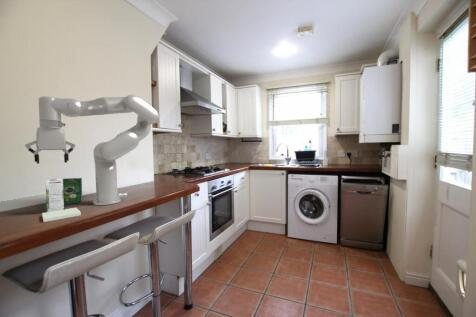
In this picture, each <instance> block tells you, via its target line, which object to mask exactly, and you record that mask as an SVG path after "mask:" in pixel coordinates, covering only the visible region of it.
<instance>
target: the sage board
mask: <svg viewBox="0 0 476 317" xmlns="http://www.w3.org/2000/svg"><path fill="white" fill-rule="evenodd" d="M79 216H82V213H81V211H80V210H79V209H78V207H72V208H65V209H63V210H58V211H52V212H47V211H46V212H41V217H42V221H43V222H44V223H45V222H53V221H58V220H62V219H66V218H67V219H69V218H72V217H79Z"/></svg>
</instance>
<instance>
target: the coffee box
mask: <svg viewBox="0 0 476 317" xmlns="http://www.w3.org/2000/svg"><path fill="white" fill-rule="evenodd" d="M62 179H63V196H64V205H68V204H69V205H70V204H80V203H82V202H83V178H82V177H74V178H73V177H71V178H62Z"/></svg>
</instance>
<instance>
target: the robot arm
mask: <svg viewBox="0 0 476 317" xmlns="http://www.w3.org/2000/svg"><path fill="white" fill-rule="evenodd" d="M128 113H134V114H136V115H137V118H136V124H135V125H133V126H132V127H130V128H128V129H125V130H124V131H123V132H122V131H121V132H120V133H118V134H117V135H116V136H115V137H114V138H112V139H110V140H108V141H105V142H99V143H98V144H96V146H95V147H94V148H93V161H94V169H95V170H94V172H95V191H96V192H95V193H96V194H95V195H96V200H95V199H94V200H93V202H92V204H93V205H95V206H107V205H113V204H114V205H115V204H117V203H120V202H121V201H122V198H123V197H124V198H125V197H128V192H118V175H117V173H118V172H117V162H116V160H118V159H119V158H122V157H123V156H125V155H127V154H128V153H130V152H131V151H133V150H135V149H136V148H137V147H138V145H139V143H140V141H142V140H144V139H145V138H147V137H148V135H149V134H150V133H151V128H152V127H151V126H152V125H154V124H156V123H157V122H159V120H160V114H159V112H158V111H157V109H155V108H154V107H153V106H152V105H150V104H149V103H147V102H146V101H144V99H143V98H141V97H139V96H137V95H135V94H129V95H126V96H114V97H113V96H111V97H110V96H109V97H108V96H106V97H105V96H103V97H98V98H95V99H91V100H85V101H83V100H82V101H79V100H77V99H75V98H68V97H67V98H61V97H59V98H58V97H57V98H56V97H54V96H53V97H52V96H47V95H46V96H41V97H39V98H38V118H39V119H38V121H39V127H37V128H36V134H35V135H36V136H35V138H36V139H35V140H32V141H31V142H28V143H26V144H24V146H25V147H26V149H27V150H28V152H30V153H32V154H33V155H34V156H33V157H34V162H35V163H36V164H37V165H38V164H40V154H39V153H40V152H41V151H62V152H64V154H63V159H64V160H63V161H64V163H68V161H69V158H70V157H69V154H70V153H71V152H73V150H74V149H75V147H76V144H74V143H73V142H69V141H67V140H66V135H65V134H66V133H65V130H64V128H62V127H66V123H64V122H63V121H62V115H63V116H65V117H69V118H75V117H76V118H77V117H88V116H104V115H113V114H115V115H117V114H128ZM33 145H35V147H36V150H34V149H33V148H32V147H31V146H33ZM67 146H70V148H69V149H66V148H67Z"/></svg>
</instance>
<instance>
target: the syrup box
mask: <svg viewBox="0 0 476 317" xmlns="http://www.w3.org/2000/svg"><path fill="white" fill-rule="evenodd" d="M63 179H64V178H51V179H47V180H46V181H45V195H46V196H45V198H46V199H45V201H46V205H45V206H46V212H52V211H58V210H64V208H65V204H64V196H63Z"/></svg>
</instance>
